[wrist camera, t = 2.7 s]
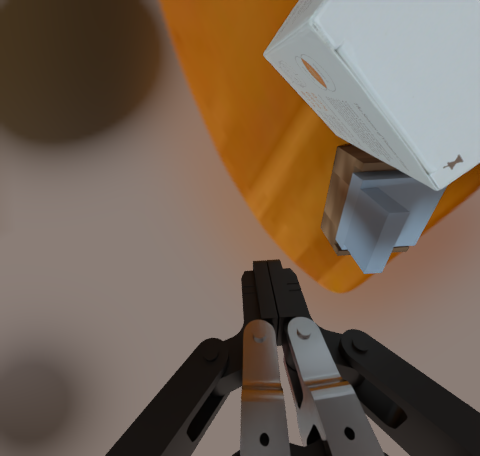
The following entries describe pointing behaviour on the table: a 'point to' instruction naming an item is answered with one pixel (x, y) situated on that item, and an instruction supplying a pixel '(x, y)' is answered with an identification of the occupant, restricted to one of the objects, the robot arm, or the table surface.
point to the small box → (390, 78)
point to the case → (344, 167)
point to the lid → (383, 216)
